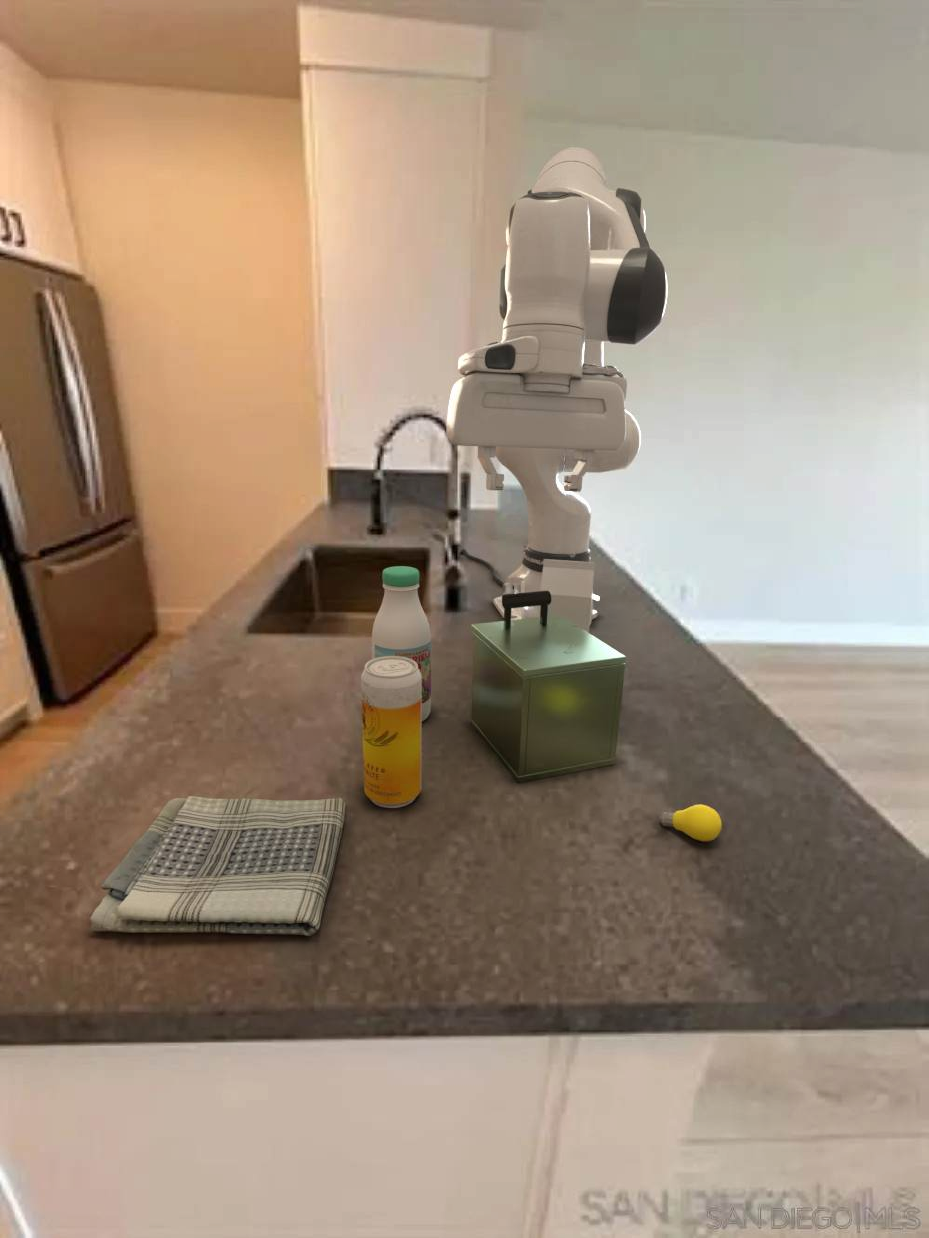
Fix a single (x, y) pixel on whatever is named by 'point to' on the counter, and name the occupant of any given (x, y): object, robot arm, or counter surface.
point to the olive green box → (545, 715)
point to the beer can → (392, 730)
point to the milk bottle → (404, 626)
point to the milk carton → (569, 590)
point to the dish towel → (227, 868)
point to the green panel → (543, 639)
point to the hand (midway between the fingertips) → (534, 490)
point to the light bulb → (695, 822)
